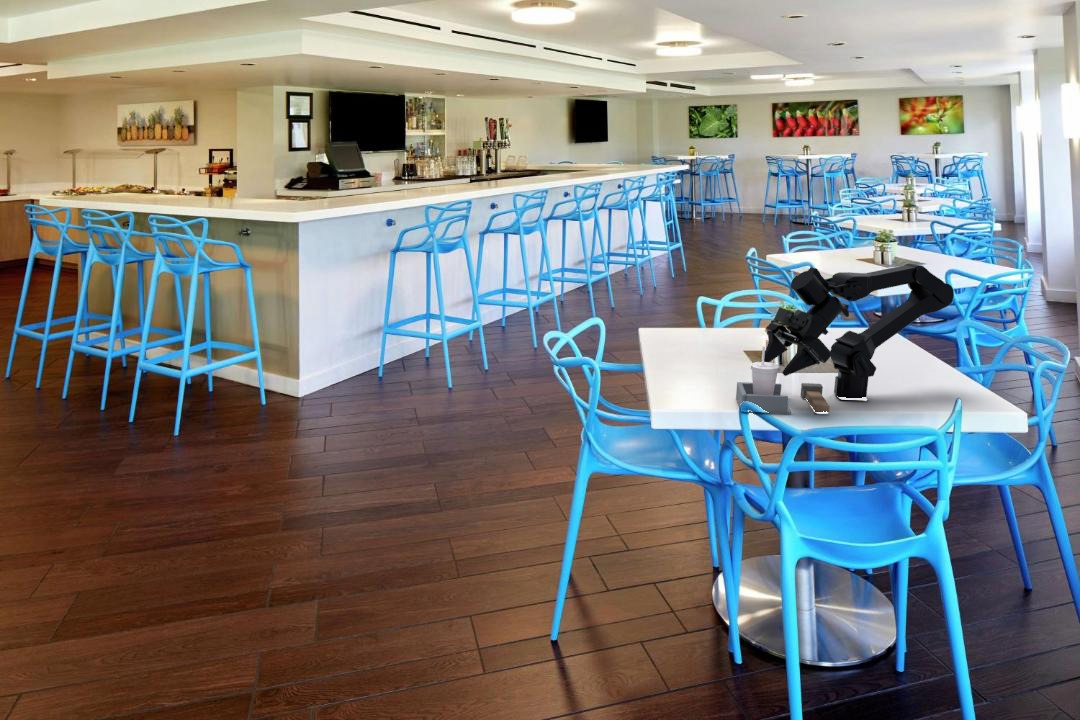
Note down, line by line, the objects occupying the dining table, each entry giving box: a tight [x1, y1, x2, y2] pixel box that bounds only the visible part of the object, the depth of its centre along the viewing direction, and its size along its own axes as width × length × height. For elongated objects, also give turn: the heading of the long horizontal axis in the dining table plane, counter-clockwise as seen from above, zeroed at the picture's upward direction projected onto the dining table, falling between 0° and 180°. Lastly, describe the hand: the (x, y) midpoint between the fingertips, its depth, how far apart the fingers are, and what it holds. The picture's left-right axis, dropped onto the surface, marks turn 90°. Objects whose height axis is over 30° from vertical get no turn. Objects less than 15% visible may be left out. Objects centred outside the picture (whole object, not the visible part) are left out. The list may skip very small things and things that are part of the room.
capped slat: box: [800, 382, 830, 413], centre depth 195 cm, size 14×4×3 cm, turn 173°
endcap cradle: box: [735, 381, 793, 415], centre depth 194 cm, size 11×10×4 cm
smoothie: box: [749, 345, 780, 395], centre depth 193 cm, size 6×6×14 cm
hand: (772, 369), depth 193 cm, fingers open, 9 cm apart
